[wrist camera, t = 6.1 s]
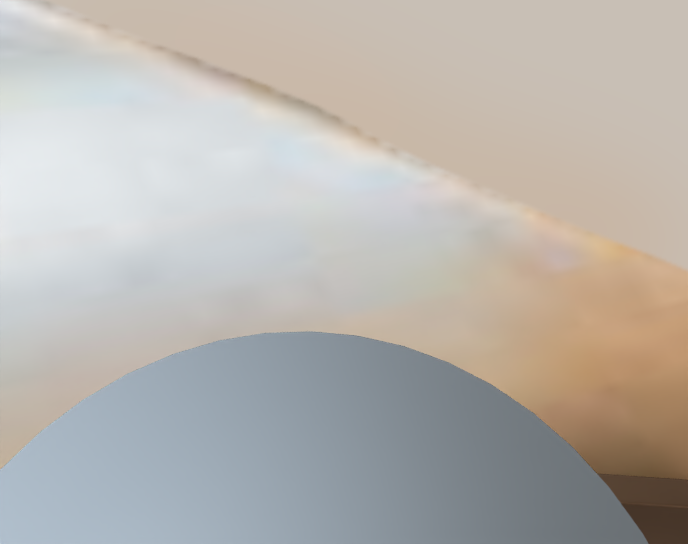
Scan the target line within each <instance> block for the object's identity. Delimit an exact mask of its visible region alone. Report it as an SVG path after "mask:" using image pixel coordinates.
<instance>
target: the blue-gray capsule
mask: <svg viewBox="0 0 688 544" xmlns="http://www.w3.org/2000/svg"><path fill="white" fill-rule="evenodd" d="M0 544H648V542H647V540H646V538H645V537H644V535H643V533H642V532H641V530H640V529H639V528H638V526H637V525H636V524H635V522H634V521H633V519H632V518H631V517H630V515H629V514H628V513H627V511H626V510H625V508H624V507H623V506H622V504H621V503H620V502H619V500H618V499H617V497H616V496H615V495H614V493H613V492H612V491H611V489H610V488H609V487H608V485H607V484H606V483H605V482H604V481H603V480H602V479H601V478H600V477H599V476H598V474H597V473H596V472H595V471H594V470H593V469H592V468H591V467H590V466H589V465H588V464H587V462H586V461H585V460H584V459H583V458H582V457H581V456H580V455H579V454H578V453H577V451H576V450H575V449H574V448H573V447H572V446H571V445H570V444H568V443H567V442H566V441H565V440H564V439H563V438H561V437H560V436H559V435H558V434H557V433H556V432H555V431H553V430H552V429H551V428H550V427H549V426H548V425H547V424H545V423H544V422H543V421H542V420H541V419H540V418H538V417H537V416H536V415H535V414H534V413H533V412H531V411H530V410H528V409H527V408H525V407H524V406H522V405H521V404H519V403H518V402H516V401H515V400H513V399H512V398H511V397H509V396H508V395H506V394H505V393H503V392H502V391H500V390H499V389H497V388H496V387H494V386H493V385H491V384H489V383H487V382H485V381H484V380H482V379H480V378H478V377H476V376H474V375H472V374H470V373H468V372H466V371H464V370H462V369H460V368H458V367H456V366H454V365H452V364H450V363H448V362H446V361H443V360H440V359H438V358H435V357H432V356H429V355H427V354H424V353H421V352H418V351H416V350H413V349H410V348H407V347H405V346H401V345H396V344H392V343H387V342H383V341H379V340H374V339H370V338H365V337H361V336H354V335H344V334H333V333H322V332H283V333H263V334H257V335H251V336H244V337H238V338H232V339H226V340H220V341H216V342H213V343H209V344H206V345H202V346H199V347H196V348H192V349H189V350H185V351H182V352H179V353H175V354H172V355H170V356H168V357H165V358H163V359H161V360H158V361H156V362H154V363H151V364H149V365H147V366H144V367H142V368H140V369H138V370H135V371H133V372H131V373H128V374H126V375H125V376H123V377H121V378H120V379H118V380H116V381H114V382H113V383H111V384H109V385H108V386H106V387H104V388H102V389H101V390H99V391H97V392H96V393H94V394H92V395H90V396H89V397H87V398H85V399H84V400H82V401H81V402H79V403H78V404H77V405H75V406H74V407H73V408H71V409H70V410H69V411H67V412H66V413H65V414H63V415H62V416H61V417H59V418H58V419H57V420H55V421H54V422H53V423H51V424H50V425H49V426H47V427H46V428H45V429H43V430H42V431H41V432H40V433H39V434H38V435H37V436H36V437H34V438H33V439H32V440H31V441H30V442H29V443H28V444H27V445H26V446H25V447H24V448H23V449H22V450H21V451H20V452H19V453H17V454H16V455H15V456H14V457H13V458H12V459H11V460H10V461H9V462H8V463H7V464H6V465H5V466H4V467H3V468H2V469H0Z"/></svg>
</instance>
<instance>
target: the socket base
mask: <svg viewBox="0 0 688 544" xmlns="http://www.w3.org/2000/svg"><path fill="white" fill-rule="evenodd" d="M598 476H599V477H600V478H601V479H602V480H603V481H604V482H605V483H606V484H607V485H608V487H609V488H610V489H611V491H612V492H613V493H614V495H615V496H616V497H617V499H618V500H619V502H620V503H621V504H622V506H623V507H624V508H625V510H626V511H627V513H628V514H629V515H630V517H631V518H632V519H633V521H634V522H635V524H636V525H637V526H638V528H639V529H640V530H641V532H642V533H643V535H644V537H645V538H646V540H647V542H648V544H688V480H682V479H668V478H653V477H638V476H623V475H608V474H598Z"/></svg>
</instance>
